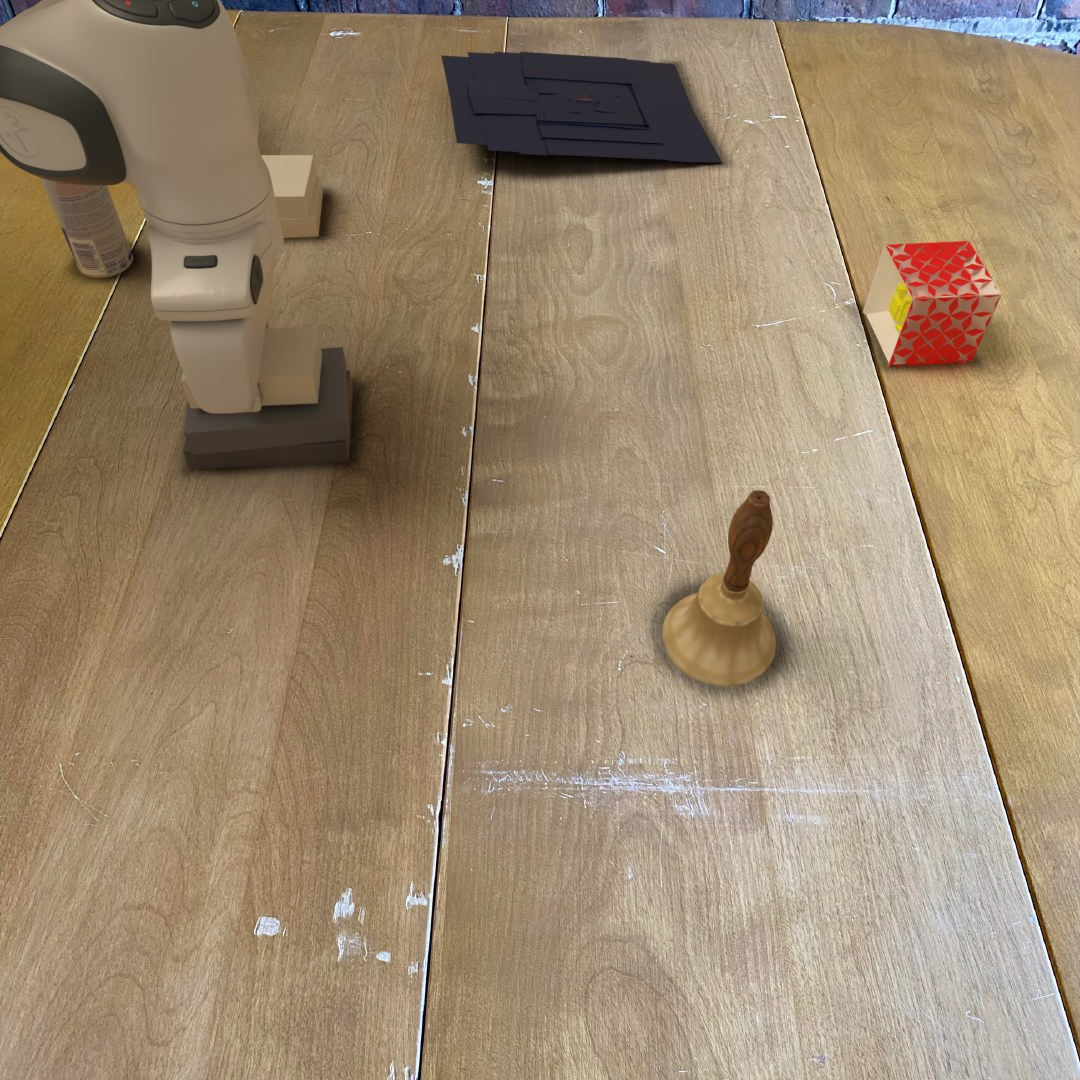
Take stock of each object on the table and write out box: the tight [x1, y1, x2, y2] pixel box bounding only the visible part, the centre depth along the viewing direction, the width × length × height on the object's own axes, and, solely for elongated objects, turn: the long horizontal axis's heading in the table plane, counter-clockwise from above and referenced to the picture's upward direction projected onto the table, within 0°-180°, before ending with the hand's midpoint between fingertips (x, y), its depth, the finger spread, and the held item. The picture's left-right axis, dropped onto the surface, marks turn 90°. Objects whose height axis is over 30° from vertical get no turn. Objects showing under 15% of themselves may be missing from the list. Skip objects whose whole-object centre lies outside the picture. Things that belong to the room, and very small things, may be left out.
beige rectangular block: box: [180, 325, 322, 408], centre depth 80 cm, size 10×6×3 cm, turn 94°
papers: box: [440, 51, 723, 163], centre depth 117 cm, size 24×30×4 cm
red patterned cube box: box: [862, 240, 1003, 368], centre depth 90 cm, size 8×8×8 cm
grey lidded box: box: [182, 346, 354, 471], centre depth 83 cm, size 13×10×5 cm
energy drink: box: [39, 177, 134, 279], centre depth 95 cm, size 5×5×12 cm
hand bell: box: [661, 489, 777, 687], centre depth 66 cm, size 8×8×16 cm
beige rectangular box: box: [261, 154, 324, 239], centre depth 103 cm, size 12×8×5 cm
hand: (256, 375), depth 80 cm, fingers closed on beige rectangular block, 6 cm apart
